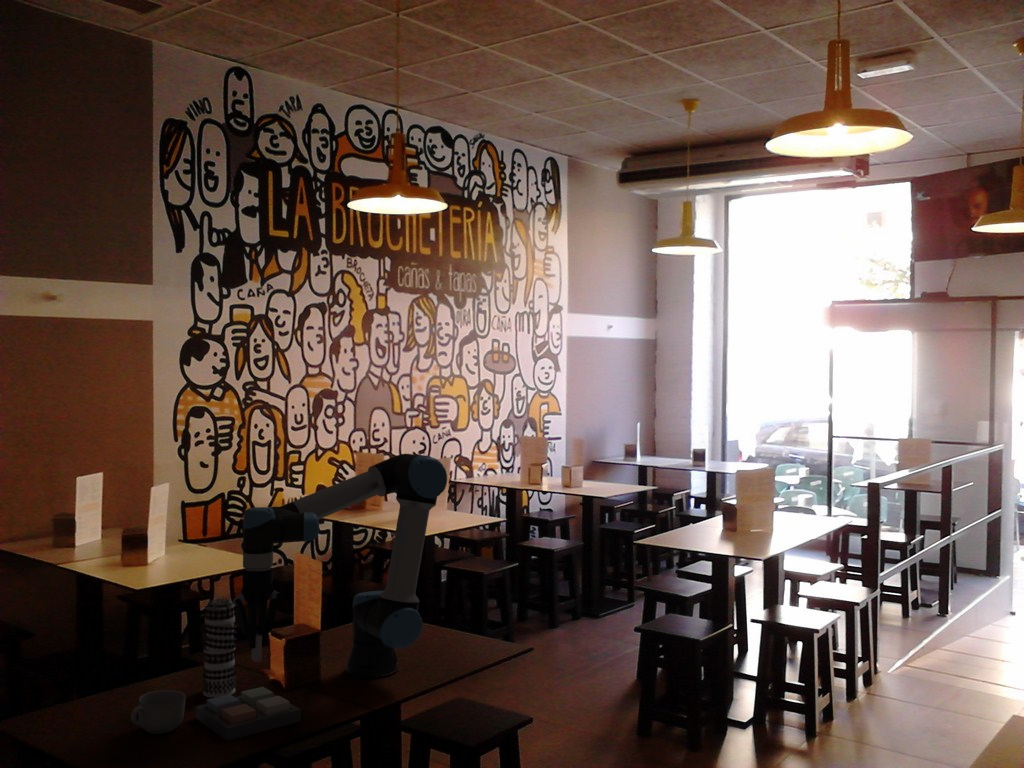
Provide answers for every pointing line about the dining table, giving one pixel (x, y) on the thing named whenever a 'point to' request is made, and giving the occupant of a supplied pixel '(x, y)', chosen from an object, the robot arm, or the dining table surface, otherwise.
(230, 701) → the blue key
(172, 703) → the teacup
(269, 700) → the cream key
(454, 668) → the dining table surface
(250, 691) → the sage key
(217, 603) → the decorative candle
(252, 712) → the terracotta key
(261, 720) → the keypad frame
